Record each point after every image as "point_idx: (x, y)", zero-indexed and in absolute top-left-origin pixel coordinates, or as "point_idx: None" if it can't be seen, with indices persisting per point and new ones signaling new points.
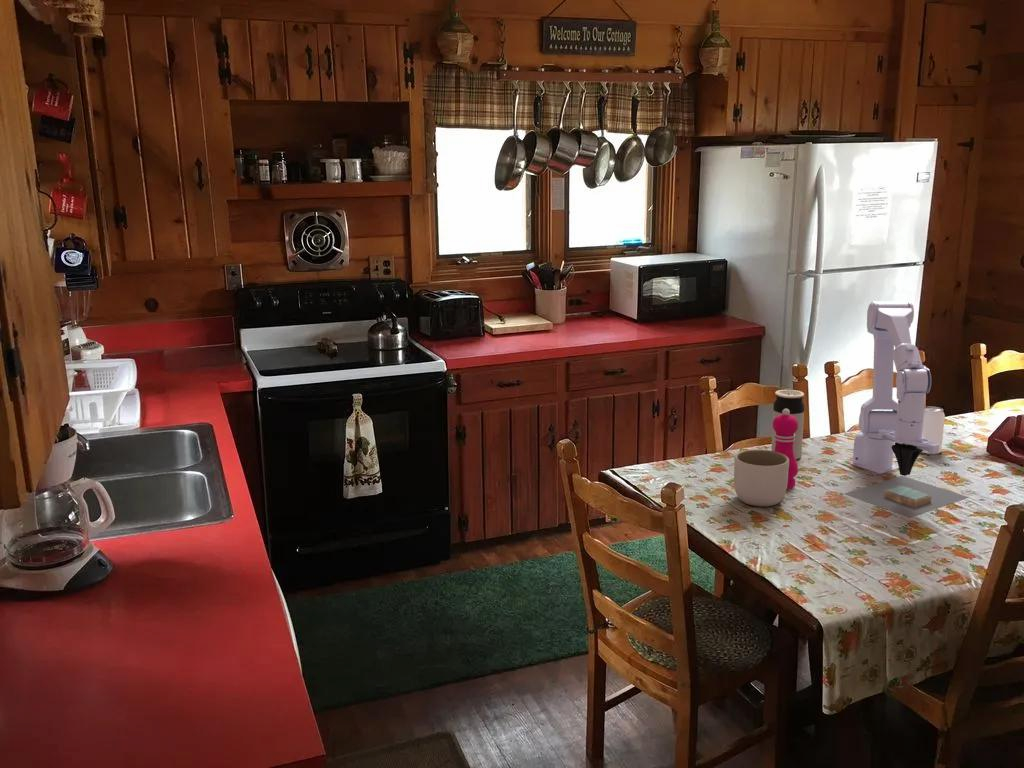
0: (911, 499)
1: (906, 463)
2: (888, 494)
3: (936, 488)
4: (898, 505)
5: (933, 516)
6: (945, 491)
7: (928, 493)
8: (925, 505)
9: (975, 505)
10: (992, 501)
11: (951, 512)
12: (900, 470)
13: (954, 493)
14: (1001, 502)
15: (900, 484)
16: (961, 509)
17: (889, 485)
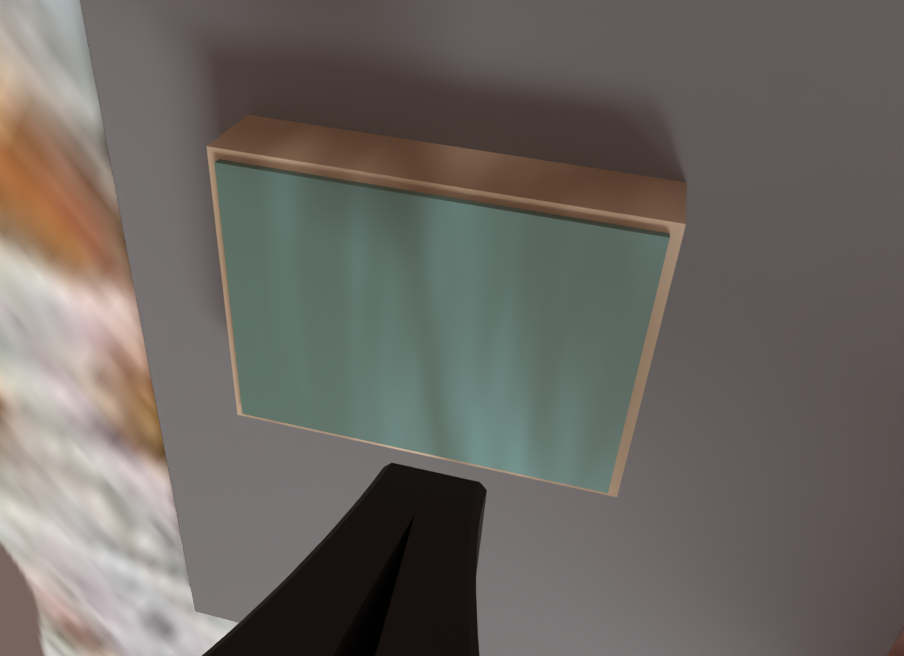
0: (267, 164)
1: (220, 641)
2: (625, 195)
3: None
4: (400, 30)
5: (37, 73)
6: None
7: None
8: None
9: (99, 524)
10: (109, 630)
11: (57, 293)
12: (443, 527)
13: None
14: (75, 639)
15: (724, 605)
16: (78, 402)
17: (808, 536)
